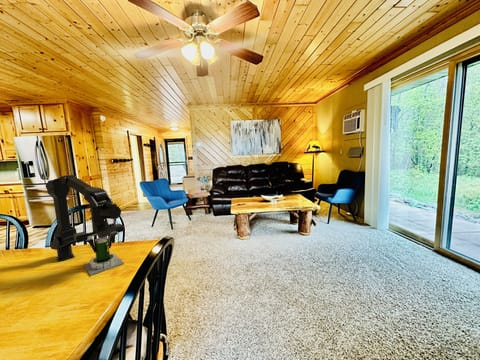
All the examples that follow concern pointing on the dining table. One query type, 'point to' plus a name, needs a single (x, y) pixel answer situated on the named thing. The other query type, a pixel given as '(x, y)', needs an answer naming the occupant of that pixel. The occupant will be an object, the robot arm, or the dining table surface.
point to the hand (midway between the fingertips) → (102, 250)
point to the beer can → (102, 249)
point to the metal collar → (103, 264)
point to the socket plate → (93, 272)
